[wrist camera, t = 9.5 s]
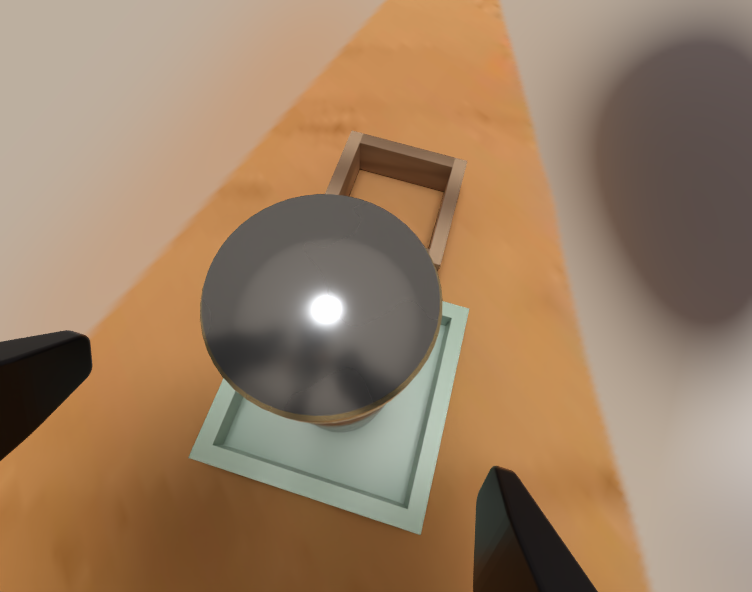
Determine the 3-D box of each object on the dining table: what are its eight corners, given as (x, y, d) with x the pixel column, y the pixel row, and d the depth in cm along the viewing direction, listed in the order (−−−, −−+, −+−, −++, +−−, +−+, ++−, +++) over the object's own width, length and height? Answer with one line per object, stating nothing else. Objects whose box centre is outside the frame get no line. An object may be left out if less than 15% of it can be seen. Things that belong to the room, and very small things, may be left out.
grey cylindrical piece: (374, 447, 19) (410, 457, 7) (277, 416, 19) (147, 373, 7) (401, 351, 21) (466, 225, 9) (312, 324, 21) (257, 166, 9)
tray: (412, 523, 19) (420, 535, 16) (208, 455, 19) (188, 457, 17) (457, 322, 23) (469, 308, 20) (287, 272, 23) (279, 253, 21)
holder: (432, 282, 23) (440, 265, 21) (315, 248, 24) (310, 228, 22) (457, 185, 26) (467, 160, 24) (352, 157, 27) (351, 130, 24)
